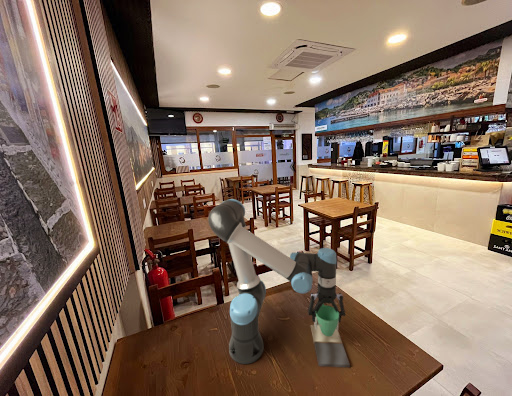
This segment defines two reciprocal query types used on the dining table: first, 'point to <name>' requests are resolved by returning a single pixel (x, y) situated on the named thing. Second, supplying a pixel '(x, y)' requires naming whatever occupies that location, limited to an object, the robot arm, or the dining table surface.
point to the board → (329, 349)
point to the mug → (327, 319)
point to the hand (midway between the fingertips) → (326, 327)
